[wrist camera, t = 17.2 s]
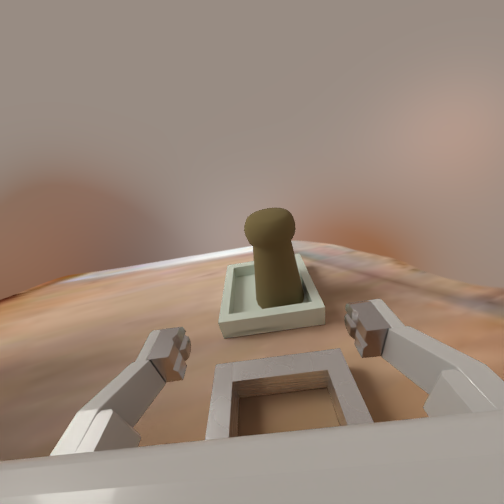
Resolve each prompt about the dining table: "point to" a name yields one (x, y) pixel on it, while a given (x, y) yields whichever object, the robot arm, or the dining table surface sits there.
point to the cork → (274, 258)
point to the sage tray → (270, 319)
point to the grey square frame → (283, 387)
